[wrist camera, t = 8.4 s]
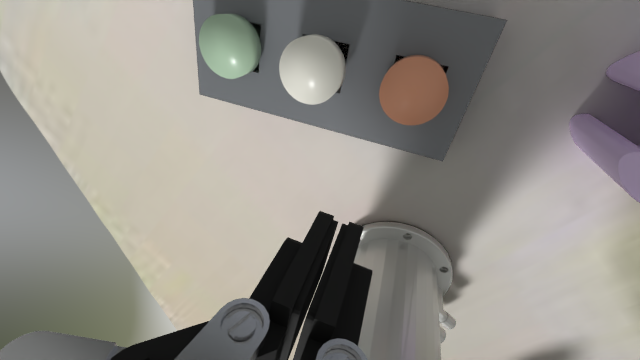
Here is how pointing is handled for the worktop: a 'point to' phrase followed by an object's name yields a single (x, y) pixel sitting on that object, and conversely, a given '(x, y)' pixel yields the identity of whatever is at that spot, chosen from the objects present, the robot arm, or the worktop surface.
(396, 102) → the terracotta button
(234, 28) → the sage button
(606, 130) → the clip
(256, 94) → the button panel
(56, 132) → the worktop surface
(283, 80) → the ivory button
